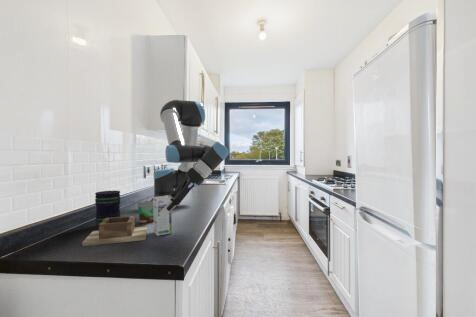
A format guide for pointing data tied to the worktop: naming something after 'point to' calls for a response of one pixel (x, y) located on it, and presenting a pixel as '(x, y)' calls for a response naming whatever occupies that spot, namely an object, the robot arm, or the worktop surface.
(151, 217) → the food container
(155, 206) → the syrup box
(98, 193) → the storage jar
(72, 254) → the worktop surface
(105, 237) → the box
